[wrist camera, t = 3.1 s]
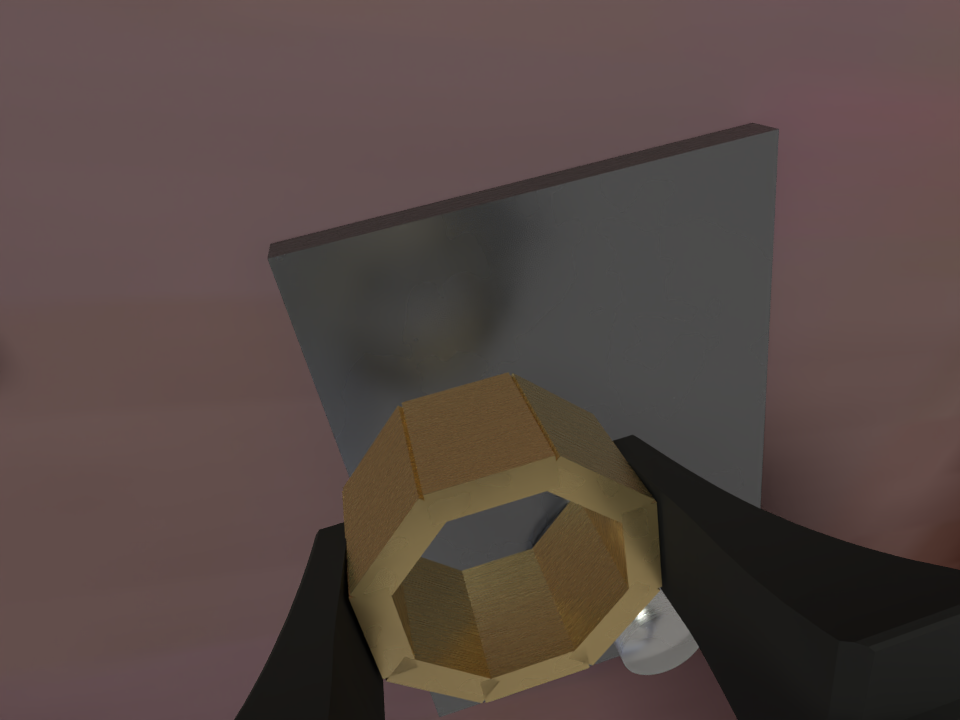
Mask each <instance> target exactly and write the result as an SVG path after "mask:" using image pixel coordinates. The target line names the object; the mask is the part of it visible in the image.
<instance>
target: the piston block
mask: <svg viewBox="0 0 960 720" xmlns="http://www.w3.org/2000/svg"><path fill="white" fill-rule="evenodd" d="M778 136H779V129H777V128H772V127H768V126H764V125H760V124H755V123H750V124H746V125H742V126H738V127H734V128H730V129H726V130H722V131H718V132H714V133H710V134H707V135H703V136H699V137H695V138H691V139H687V140H683V141H679V142H675V143H671V144H667V145H663V146H659V147H655V148H651V149H647V150H643V151H639V152H635V153H631V154H627V155H623V156H619V157H615V158H611V159H607V160H603V161H599V162H595V163H591V164H587V165H583V166H579V167H575V168H571V169H567V170H563V171H559V172H555V173H551V174H547V175H543V176H539V177H535V178H531V179H527V180H523V181H519V182H515V183H511V184H507V185H503V186H499V187H496V188H492V189H488V190H484V191H480V192H476V193H472V194H468V195H464V196H460V197H456V198H452V199H448V200H444V201H440V202H436V203H432V204H428V205H424V206H420V207H416V208H412V209H408V210H404V211H400V212H396V213H392V214H388V215H384V216H380V217H376V218H372V219H368V220H364V221H360V222H356V223H352V224H348V225H344V226H340V227H336V228H332V229H328V230H324V231H320V232H316V233H312V234H308V235H304V236H300V237H296V238H292V239H288V240H285V241H281V242H277V243H273V244H270V249H269V254H268V261H269V264H270V266H271V269H272V272H273V274H274V277H275V280H276V282H277V285H278V288H279V290H280V293H281V296H282V298H283V301H284V304H285V306H286V309H287V312H288V314H289V317H290V320H291V322H292V325H293V328H294V330H295V333H296V336H297V338H298V341H299V344H300V346H301V349H302V352H303V354H304V357H305V360H306V362H307V365H308V368H309V370H310V373H311V376H312V378H313V381H314V384H315V386H316V389H317V392H318V394H319V397H320V400H321V402H322V405H323V408H324V410H325V413H326V416H327V418H328V421H329V424H330V426H331V429H332V432H333V434H334V437H335V440H336V442H337V445H338V448H339V450H340V453H341V456H342V458H343V461H344V464H345V466H346V469H347V472H348V474H349V477H351V475H352V474H353V472H354V471H355V469H356V468H357V466H358V465H359V463H360V462H361V460H362V459H363V457H364V456H365V454H366V453H367V451H368V450H369V448H370V447H371V445H372V444H373V442H374V441H375V439H376V438H377V436H378V435H379V433H380V432H381V430H382V429H383V427H384V426H385V424H386V423H387V421H388V420H389V418H390V417H391V415H392V414H393V412H394V411H395V409H396V408H397V406H398V405H399V406H401V407H402V402H405V401H409V400H412V399H416V398H419V397H423V396H426V395H430V394H434V393H437V392H441V391H444V390H448V389H451V388H455V387H458V386H462V385H465V384H469V383H472V382H476V381H479V380H483V379H486V378H490V377H493V376H497V375H501V374H504V373H508V372H509V374H510V376H511V374H512V373H514V374H516V375H518V376H520V377H522V378H524V379H526V380H528V381H530V382H532V383H534V384H536V385H537V386H539V387H541V388H543V389H545V390H547V391H549V392H551V393H553V394H555V395H557V396H559V397H561V398H563V399H565V400H567V401H569V402H571V403H572V404H574V405H576V406H578V407H580V408H582V409H584V410H586V411H588V412H590V413H592V414H593V415H594V416H595V417H596V419H597V420H598V421H599V423H600V424H601V426H602V427H603V428H604V430H605V431H606V433H607V434H608V435H609V437H610V438H611V439H612V441H613V440H617V439H620V438H623V437H627V436H630V435H634V436H636V437H638V438H639V439H641V440H642V441H644V442H646V443H647V444H649V445H650V446H652V447H653V448H655V449H656V450H658V451H660V452H661V453H663V454H664V455H666V456H667V457H669V458H670V459H672V460H674V461H675V462H677V463H678V464H680V465H682V466H683V467H685V468H686V469H688V470H690V471H691V472H693V473H695V474H697V475H698V476H700V477H702V478H703V479H705V480H707V481H709V482H710V483H712V484H714V485H715V486H717V487H719V488H721V489H723V490H724V491H726V492H728V493H730V494H732V495H734V496H736V497H738V498H740V499H742V500H744V501H746V502H748V503H750V504H752V505H754V506H756V507H758V508H760V505H761V485H762V464H763V444H764V423H765V403H766V382H767V362H768V341H769V321H770V300H771V279H772V259H773V238H774V218H775V197H776V177H777V156H778ZM569 502H570V501H569V500H567V499H564V498H562V497H560V496H557V495H555V494H553V493H550V492H548V491H546V492H542V493H539V494H536V495H532V496H529V497H526V498H523V499H519V500H516V501H513V502H510V503H506V504H503V505H500V506H497V507H493V508H490V509H487V510H484V511H480V512H477V513H474V514H471V515H467V516H464V517H461V518H458V519H454V520H451V521H448V522H446V523H445V524H444V526H443V527H442V528H441V530H440V531H439V533H438V534H437V535H436V537H435V538H434V539H433V541H432V542H431V543H430V545H429V546H428V547H427V549H426V550H425V552H424V553H423V554H422V556H421V557H422V558H425V559H428V560H431V561H434V562H437V563H440V564H443V565H446V566H449V567H452V568H455V569H458V570H461V571H463V570H466V569H469V568H472V567H475V566H478V565H482V564H485V563H488V562H491V561H494V560H497V559H501V558H504V557H507V556H510V555H513V554H516V553H520V552H523V551H526V550H529V549H532V548H533V547H534V546H535V544H536V543H537V542H538V541H539V539H540V538H541V537H542V536H543V534H544V533H545V532H546V531H547V529H548V528H549V527H550V526H551V524H552V523H553V522H554V521H555V519H556V518H557V517H558V516H559V514H560V513H561V512H562V511H563V509H564V508H565V507H566V506H567V504H568V503H569ZM659 589H660V591H659V592H658V593H657V595H656V596H655V597H654V598H653V599H652V600H651V601H650V602H649V604H648V605H647V606H646V607H645V608H644V609H643V610H642V611H641V612H640V614H639V615H638V616H637V617H636V618H635V619H634V620H633V621H632V622H631V624H630V625H629V626H628V627H627V628H626V629H625V630H624V631H623V632H622V634H621V635H620V636H619V637H618V638H617V639H616V640H615V641H614V642H613V644H612V645H611V646H610V647H609V648H608V649H607V650H606V651H605V652H604V654H603V655H602V656H601V657H600V658H599V659H598V660H597V661H596V662H595V664H597V663H600V662H603V661H606V660H609V659H612V658H615V657H618V656H620V657H621V659H622V661H623V663H624V665H625V666H626V668H627V669H628V670H630V671H631V672H633V673H636V674H640V675H653V674H659V673H662V672H666V671H668V670H671V669H673V668H675V667H677V666H679V665H680V664H682V663H683V662H685V661H686V660H687V659H688V658H690V657H691V656H692V655H693V654H694V653H695V652H696V650H697V649H698V648H699V646H698V645H697V643H696V641H695V640H694V638H693V636H692V635H691V633H690V632H689V630H688V629H687V627H686V626H685V624H684V623H683V621H682V620H681V618H680V617H679V615H678V614H677V612H676V611H675V609H674V608H673V606H672V605H671V603H670V602H669V600H668V599H667V597H666V596H665V594H664V593H663V591H662V590H661V588H659ZM589 666H592V665H590V664H589ZM430 693H431V696H432V698H433V701H434V704H435V706H436V709H437V712H438V714H439V717H442V716H444V715H447V714H450V713H453V712H456V711H459V710H462V709H465V708H468V707H471V706H474V705H477V704H480V703H479V702H475V701H470V700H466V699H462V698H457V697H453V696H449V695H444V694H440V693H436V692H431V691H430ZM483 702H486V701H485V700H484V701H483ZM483 702H482V703H483Z"/></svg>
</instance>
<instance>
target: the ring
mask: <svg viewBox="0 0 960 720" xmlns="http://www.w3.org/2000/svg"><path fill="white" fill-rule="evenodd" d="M546 491H548V492H550V493H553V494H555V495H557V496H560V497H562V498H564V499H567V500H569V501H570V502H569V503H568V504H567V506H566V507H565V508H564V509H563V511H562V512H561V513H560V514H559V516H558V517H557V518H556V519H555V521H554V522H553V523H552V524H551V526H550V527H549V528H548V529H547V531H546V532H545V533H544V534H543V536H542V537H541V538H540V539H539V541H538V542H537V543H536V544H535V546H534V547H533V548H532V549H529V550H526V551H523V552H520V553H516V554H513V555H510V556H507V557H504V558H501V559H497V560H494V561H491V562H488V563H485V564H482V565H478V566H475V567H472V568H469V569H466V570H463V571H461V570H458V569H455V568H452V567H449V566H446V565H443V564H440V563H437V562H434V561H431V560H428V559H425V558H422V557H421V556H422V554H423V553H424V552H425V550H426V549H427V547H428V546H429V545H430V543H431V542H432V541H433V539H434V538H435V537H436V535H437V534H438V533H439V531H440V530H441V528H442V527H443V526H444V524H445V523H446V522H448V521H451V520H454V519H458V518H461V517H464V516H467V515H471V514H474V513H477V512H480V511H484V510H487V509H490V508H493V507H497V506H500V505H503V504H506V503H510V502H513V501H516V500H519V499H523V498H526V497H529V496H532V495H536V494H539V493H542V492H546ZM342 493H343V510H344V526H345V538H346V542H347V556H346V558H347V575H348V591H349V600H350V603H351V605H352V608H353V610H354V612H355V615H356V617H357V619H358V622H359V624H360V626H361V629H362V631H363V633H364V636H365V638H366V641H367V643H368V645H369V648H370V650H371V652H372V655H373V657H374V659H375V662H376V664H377V666H378V669H379V671H380V674H381V676H382V678H383V679H385V678H386V681H388V682H392V683H396V684H401V685H405V686H409V687H414V688H418V689H422V690H427V691H431V692H436V693H440V694H444V695H449V696H453V697H457V698H462V699H466V700H470V701H475V702H479V703H482V702H483V701H484V700H485V701H486V703H487V702H490V701H493V700H496V699H499V698H502V697H505V696H508V695H511V694H514V693H517V692H520V691H523V690H525V689H528V688H531V687H534V686H537V685H540V684H543V683H546V682H549V681H552V680H555V679H558V678H561V677H564V676H567V675H570V674H572V673H575V672H578V671H581V670H584V669H587V668H589V664H590V665H594V664H595V662H596V661H597V660H598V659H599V658H600V657H601V656H602V655H603V654H604V652H605V651H606V650H607V649H608V648H609V647H610V646H611V645H612V644H613V642H614V641H615V640H616V639H617V638H618V637H619V636H620V635H621V634H622V632H623V631H624V630H625V629H626V628H627V627H628V626H629V625H630V624H631V622H632V621H633V620H634V619H635V618H636V617H637V616H638V615H639V614H640V612H641V611H642V610H643V609H644V608H645V607H646V606H647V605H648V604H649V602H650V601H651V600H652V599H653V598H654V597H655V596H656V595H657V593H658V592H659V591H660V589H659V588H660V587H662V578H661V562H660V546H659V531H658V515H657V502H656V501H655V499H654V498H653V497H652V495H651V494H650V492H649V491H648V490H647V488H646V487H645V485H644V484H643V483H642V481H641V480H640V478H639V477H638V476H637V474H636V473H635V472H634V470H633V469H632V468H631V466H630V465H629V463H628V462H627V461H626V459H625V458H624V456H623V455H622V454H621V452H620V451H619V449H618V448H617V446H616V445H615V444H614V442H613V441H612V439H611V438H610V437H609V435H608V434H607V433H606V431H605V430H604V428H603V427H602V426H601V424H600V423H599V421H598V420H597V419H596V417H595V416H594V415H593V414H592V413H590V412H588V411H586V410H584V409H582V408H580V407H578V406H576V405H574V404H572V403H571V402H569V401H567V400H565V399H563V398H561V397H559V396H557V395H555V394H553V393H551V392H549V391H547V390H545V389H543V388H541V387H539V386H537V385H536V384H534V383H532V382H530V381H528V380H526V379H524V378H522V377H520V376H518V375H516V374H514V373H512V374H511V376H510V374H509V372H508V373H504V374H501V375H497V376H493V377H490V378H486V379H483V380H479V381H476V382H472V383H469V384H465V385H462V386H458V387H455V388H451V389H448V390H444V391H441V392H437V393H434V394H430V395H426V396H423V397H419V398H416V399H412V400H409V401H405V402H402V407H401V406H399V405H398V406H397V408H396V409H395V411H394V412H393V414H392V415H391V417H390V418H389V420H388V421H387V423H386V424H385V426H384V427H383V429H382V430H381V432H380V433H379V435H378V436H377V438H376V439H375V441H374V442H373V444H372V445H371V447H370V448H369V450H368V451H367V453H366V454H365V456H364V457H363V459H362V460H361V462H360V463H359V465H358V466H357V468H356V469H355V471H354V472H353V474H352V475H351V477H350V478H349V480H348V481H347V483H346V484H345V486H344V487H343V491H342Z"/></svg>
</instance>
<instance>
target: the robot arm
mask: <svg viewBox="0 0 960 720" xmlns="http://www.w3.org/2000/svg"><path fill="white" fill-rule="evenodd" d="M613 442H614V444H615V445H616V446H617V448H618V449H619V451H620V452H621V454H622V455H623V456H624V458H625V459H626V461H627V462H628V463H629V465H630V466H631V468H632V469H633V470H634V472H635V473H636V474H637V476H638V477H639V478H640V480H641V481H642V483H643V484H644V485H645V487H646V488H647V490H648V491H649V492H650V494H651V495H652V497H653V498H654V499H655V501H656V502H657V515H658V531H659V546H660V562H661V578H662V587H660V588H661V590H662V591H663V593H664V594H665V596H666V597H667V599H668V600H669V602H670V603H671V605H672V606H673V608H674V609H675V611H676V612H677V614H678V615H679V617H680V618H681V620H682V621H683V623H684V624H685V626H686V627H687V629H688V630H689V632H690V633H691V635H692V636H693V638H694V640H695V641H696V643H697V645H698V646H699V648H700V650H701V651H702V653H703V655H704V657H705V659H706V661H707V662H708V664H709V666H710V668H711V670H712V672H713V674H714V675H715V677H716V679H717V681H718V683H719V685H720V687H721V688H722V690H723V692H724V694H725V696H726V698H727V700H728V702H729V704H730V706H731V708H732V710H733V711H734V713H735V715H736V717H737V719H738V720H960V570H957V569H953V568H948V567H943V566H939V565H934V564H929V563H924V562H920V561H915V560H910V559H906V558H902V557H898V556H894V555H891V554H887V553H883V552H880V551H876V550H872V549H868V548H865V547H862V546H859V545H855V544H852V543H849V542H845V541H842V540H840V539H837V538H834V537H831V536H828V535H825V534H822V533H819V532H816V531H814V530H811V529H808V528H806V527H803V526H800V525H798V524H795V523H793V522H790V521H788V520H786V519H783V518H781V517H779V516H776V515H774V514H772V513H769V512H767V511H765V510H762V509H760V508H758V507H756V506H754V505H752V504H750V503H748V502H746V501H744V500H742V499H740V498H738V497H736V496H734V495H732V494H730V493H728V492H726V491H724V490H723V489H721V488H719V487H717V486H715V485H714V484H712V483H710V482H709V481H707V480H705V479H703V478H702V477H700V476H698V475H697V474H695V473H693V472H691V471H690V470H688V469H686V468H685V467H683V466H682V465H680V464H678V463H677V462H675V461H674V460H672V459H670V458H669V457H667V456H666V455H664V454H663V453H661V452H660V451H658V450H656V449H655V448H653V447H652V446H650V445H649V444H647V443H646V442H644V441H642V440H641V439H639V438H638V437H636V436H634V435H630V436H627V437H623V438H620V439H617V440H613ZM346 556H347V542H346V538H345V526H344V522H343V523H340V524H337V525H334V526H330V527H327V528H324V529H320V530H319V531H318V533H317V534H316V537H315V540H314V544H313V547H312V550H311V554H310V557H309V560H308V563H307V566H306V569H305V572H304V575H303V578H302V580H301V583H300V586H299V588H298V591H297V594H296V596H295V599H294V601H293V604H292V606H291V609H290V612H289V614H288V616H287V619H286V621H285V623H284V626H283V628H282V630H281V632H280V634H279V637H278V639H277V641H276V643H275V645H274V648H273V650H272V652H271V654H270V656H269V658H268V660H267V662H266V664H265V666H264V668H263V670H262V672H261V674H260V676H259V678H258V680H257V681H256V683H255V685H254V687H253V689H252V690H251V692H250V694H249V696H248V698H247V699H246V701H245V703H244V705H243V706H242V708H241V710H240V711H239V713H238V714H237V716H236V718H235V719H234V720H385V712H384V691H383V678H382V676H381V674H380V671H379V669H378V666H377V664H376V662H375V659H374V657H373V655H372V652H371V650H370V648H369V645H368V643H367V641H366V638H365V636H364V633H363V631H362V629H361V626H360V624H359V622H358V619H357V617H356V615H355V612H354V610H353V608H352V605H351V603H350V600H349V591H348V575H347V558H346Z"/></svg>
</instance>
